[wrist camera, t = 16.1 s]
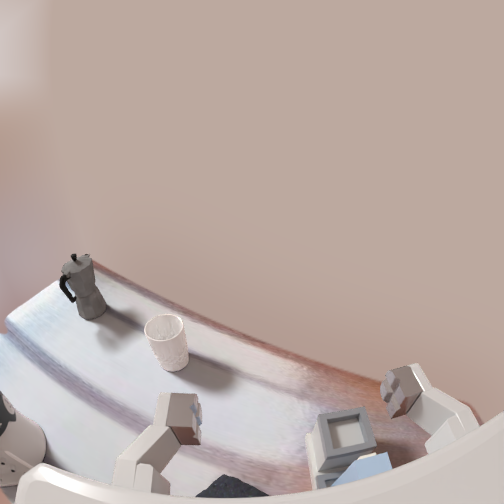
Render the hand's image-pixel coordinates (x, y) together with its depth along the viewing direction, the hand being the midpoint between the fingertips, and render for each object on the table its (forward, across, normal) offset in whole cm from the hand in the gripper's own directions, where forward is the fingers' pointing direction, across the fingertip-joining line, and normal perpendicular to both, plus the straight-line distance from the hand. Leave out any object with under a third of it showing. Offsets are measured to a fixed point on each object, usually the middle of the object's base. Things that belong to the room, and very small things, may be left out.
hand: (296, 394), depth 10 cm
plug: (0, +10, -33) cm, 35 cm away
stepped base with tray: (+5, +11, -36) cm, 38 cm away
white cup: (+33, -18, -35) cm, 52 cm away
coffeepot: (+50, -46, -35) cm, 76 cm away
